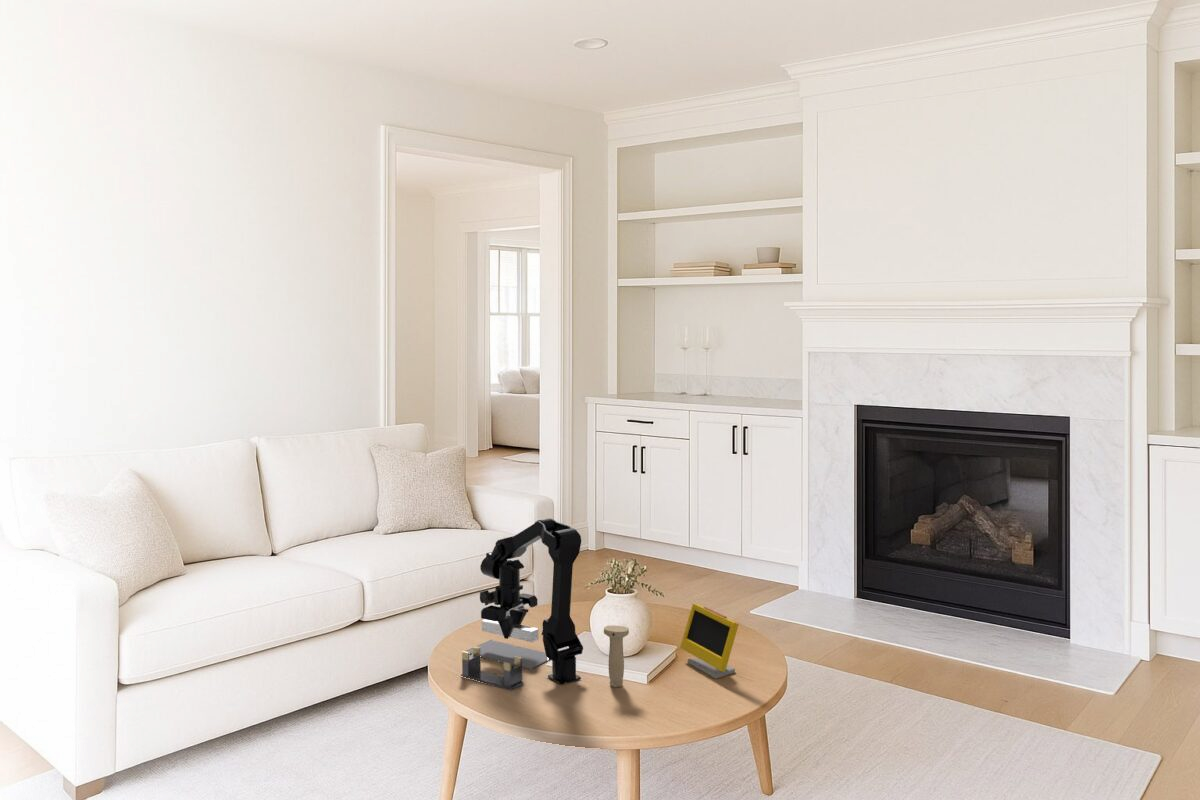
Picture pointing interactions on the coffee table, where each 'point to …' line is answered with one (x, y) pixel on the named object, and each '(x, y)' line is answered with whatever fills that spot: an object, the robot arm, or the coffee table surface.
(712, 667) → the yellow framed monitor
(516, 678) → the grey stand
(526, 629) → the rail
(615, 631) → the handle
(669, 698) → the coffee table surface
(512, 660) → the mat
